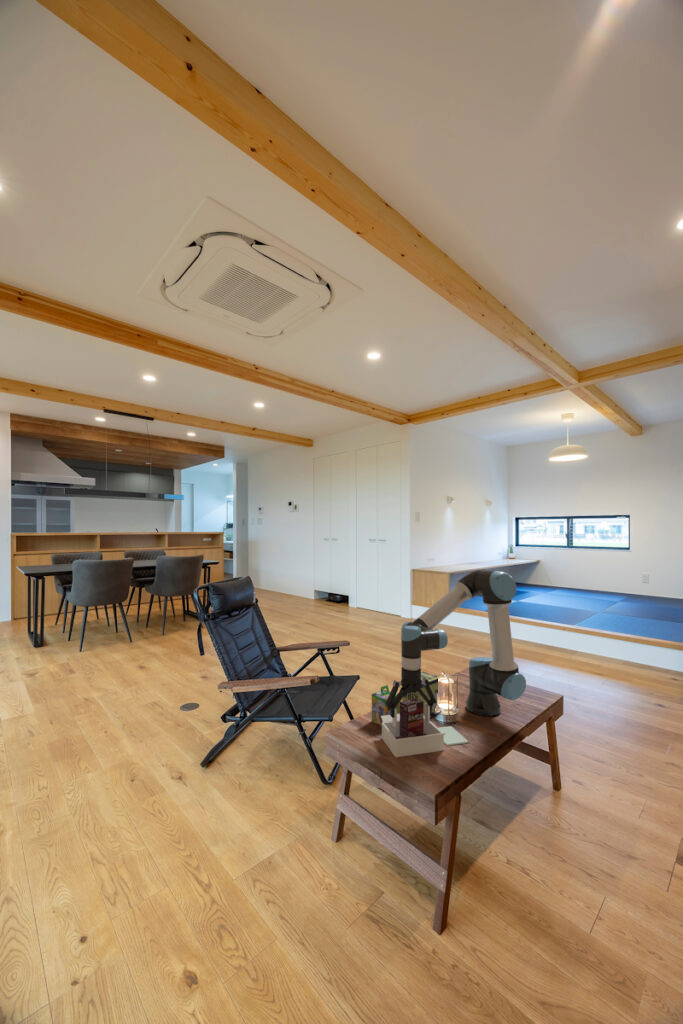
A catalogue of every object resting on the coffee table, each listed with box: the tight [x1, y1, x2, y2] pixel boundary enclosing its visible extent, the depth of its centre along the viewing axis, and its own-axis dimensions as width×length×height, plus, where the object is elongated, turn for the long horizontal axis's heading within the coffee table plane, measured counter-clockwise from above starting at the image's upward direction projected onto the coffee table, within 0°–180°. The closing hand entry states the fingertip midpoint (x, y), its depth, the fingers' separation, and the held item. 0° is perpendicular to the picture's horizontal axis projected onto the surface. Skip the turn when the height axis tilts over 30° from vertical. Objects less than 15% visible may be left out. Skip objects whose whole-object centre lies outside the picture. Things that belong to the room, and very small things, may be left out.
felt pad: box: [437, 725, 469, 747], centre depth 160 cm, size 9×13×1 cm
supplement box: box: [399, 698, 425, 739], centre depth 154 cm, size 9×5×16 cm, turn 123°
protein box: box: [401, 671, 438, 718], centre depth 182 cm, size 10×16×16 cm
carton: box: [381, 714, 446, 758], centre depth 154 cm, size 19×20×7 cm
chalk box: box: [371, 684, 401, 727], centre depth 172 cm, size 9×9×15 cm
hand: (411, 724), depth 154 cm, fingers open, 13 cm apart
